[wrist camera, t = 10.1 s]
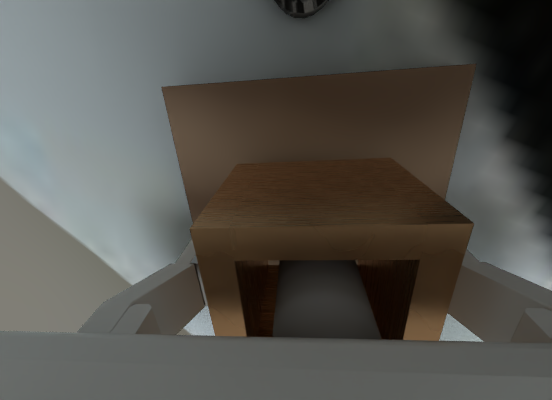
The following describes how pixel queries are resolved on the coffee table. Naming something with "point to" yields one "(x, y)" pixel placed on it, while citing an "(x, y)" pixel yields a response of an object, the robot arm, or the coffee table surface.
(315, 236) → the wooden square sleeve
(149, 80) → the coffee table surface
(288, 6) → the phone
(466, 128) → the coffee table surface
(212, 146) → the post stand
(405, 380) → the robot arm
